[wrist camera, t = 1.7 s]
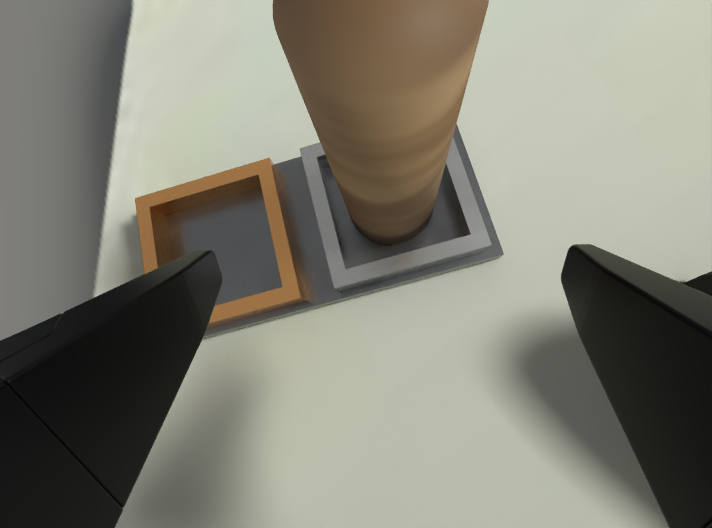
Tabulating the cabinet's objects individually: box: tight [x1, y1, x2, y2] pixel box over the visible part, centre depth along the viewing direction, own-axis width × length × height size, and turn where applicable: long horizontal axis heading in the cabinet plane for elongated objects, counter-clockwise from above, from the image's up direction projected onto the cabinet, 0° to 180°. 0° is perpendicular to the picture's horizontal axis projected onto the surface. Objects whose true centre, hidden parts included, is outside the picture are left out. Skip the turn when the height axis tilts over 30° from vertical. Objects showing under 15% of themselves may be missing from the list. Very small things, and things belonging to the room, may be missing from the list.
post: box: [273, 0, 489, 245], centre depth 14 cm, size 5×5×13 cm
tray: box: [135, 124, 504, 339], centre depth 21 cm, size 20×9×2 cm, turn 105°
